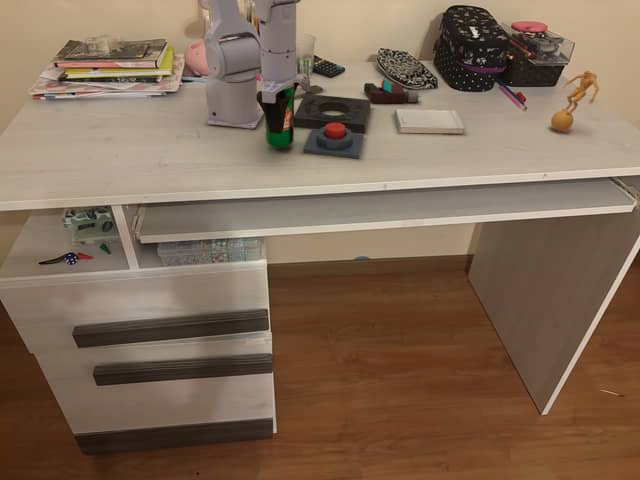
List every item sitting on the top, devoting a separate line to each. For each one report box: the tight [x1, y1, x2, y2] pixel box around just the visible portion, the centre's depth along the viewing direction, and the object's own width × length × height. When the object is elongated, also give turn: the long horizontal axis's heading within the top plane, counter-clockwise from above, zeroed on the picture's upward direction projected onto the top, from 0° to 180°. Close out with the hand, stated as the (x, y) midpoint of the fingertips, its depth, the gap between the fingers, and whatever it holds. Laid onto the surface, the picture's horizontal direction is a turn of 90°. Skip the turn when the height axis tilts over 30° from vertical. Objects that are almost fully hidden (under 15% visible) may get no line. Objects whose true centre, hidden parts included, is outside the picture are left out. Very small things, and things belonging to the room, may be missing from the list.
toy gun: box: [363, 78, 423, 104], centre depth 112 cm, size 10×12×5 cm
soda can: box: [264, 83, 295, 149], centre depth 89 cm, size 5×5×12 cm
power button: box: [325, 123, 345, 139], centre depth 93 cm, size 4×4×2 cm
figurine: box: [550, 69, 600, 132], centre depth 99 cm, size 8×6×12 cm
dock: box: [294, 93, 372, 135], centre depth 103 cm, size 14×12×2 cm
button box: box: [303, 127, 365, 160], centre depth 94 cm, size 10×8×2 cm
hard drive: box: [393, 108, 465, 135], centre depth 102 cm, size 2×8×12 cm
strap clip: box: [294, 73, 324, 100], centre depth 112 cm, size 8×3×4 cm, turn 129°
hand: (279, 125), depth 91 cm, fingers closed on soda can, 5 cm apart
